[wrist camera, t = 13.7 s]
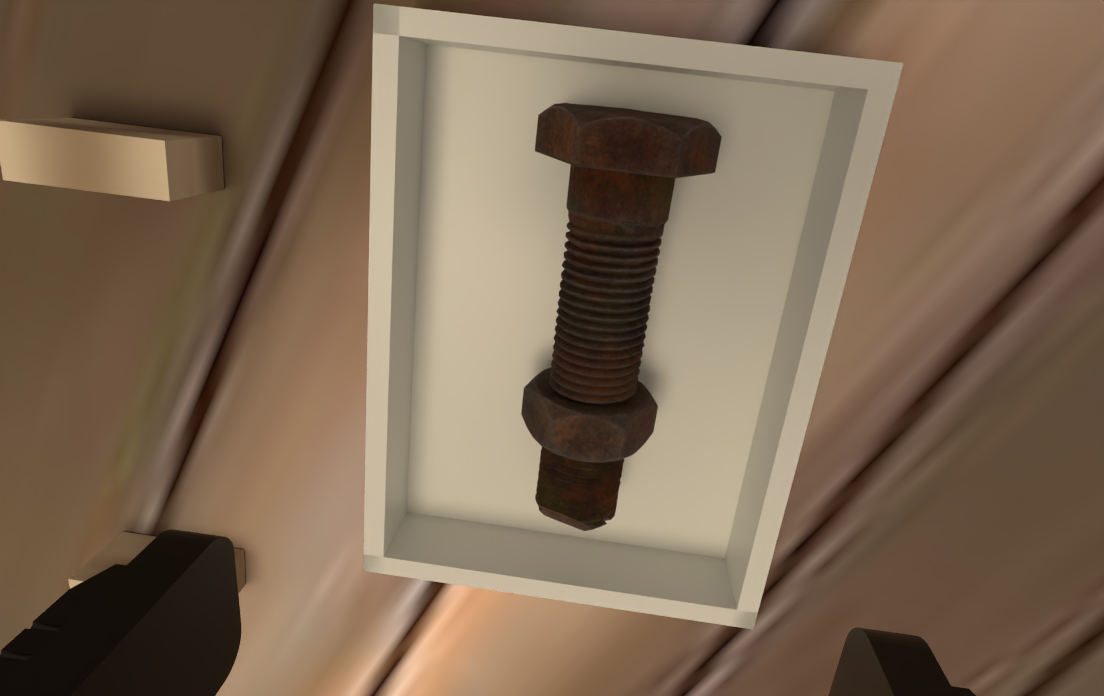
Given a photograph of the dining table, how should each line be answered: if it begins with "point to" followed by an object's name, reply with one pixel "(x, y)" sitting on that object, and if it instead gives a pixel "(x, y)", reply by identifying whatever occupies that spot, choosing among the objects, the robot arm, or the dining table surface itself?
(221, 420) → the dining table surface
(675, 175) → the bolt
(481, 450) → the tray
